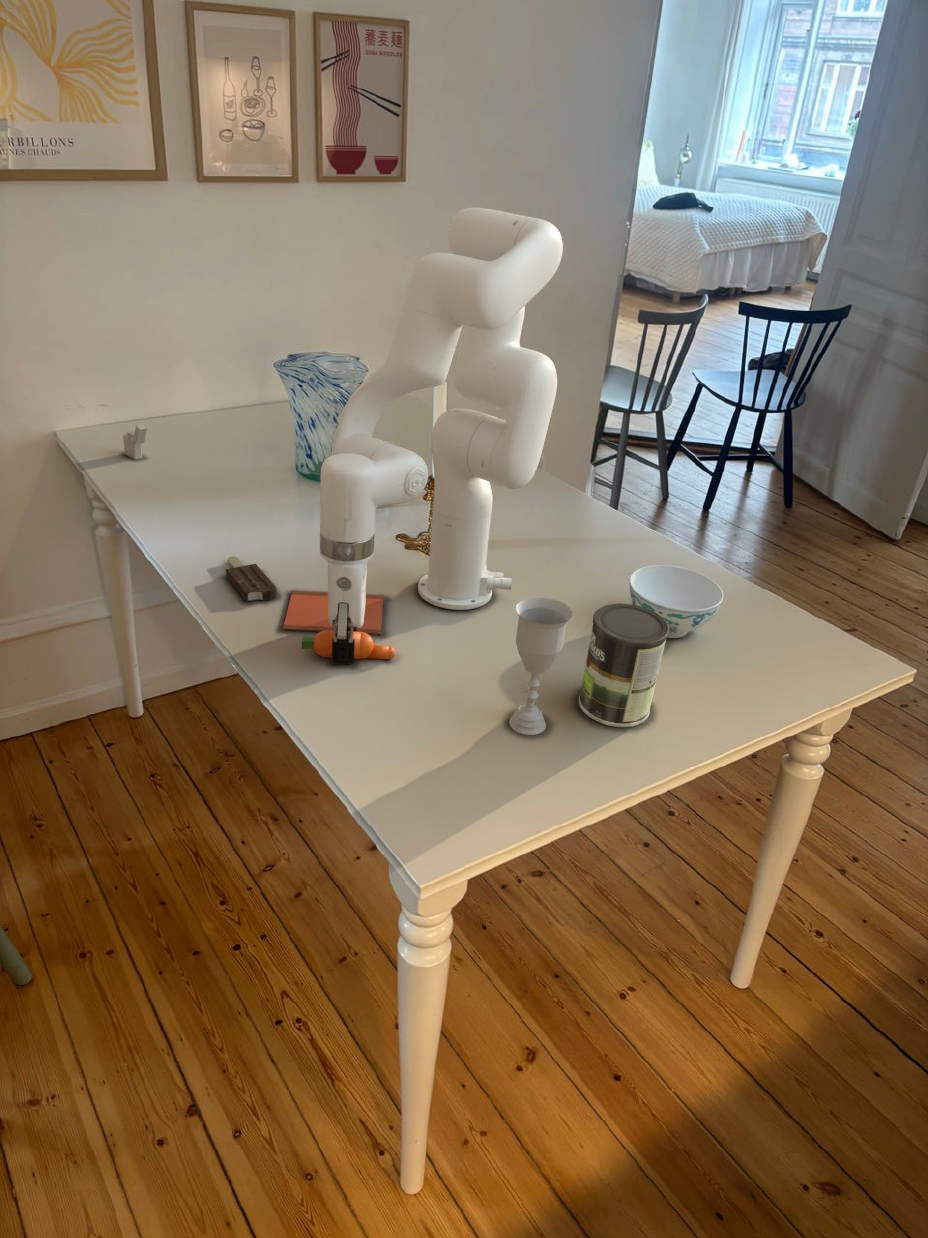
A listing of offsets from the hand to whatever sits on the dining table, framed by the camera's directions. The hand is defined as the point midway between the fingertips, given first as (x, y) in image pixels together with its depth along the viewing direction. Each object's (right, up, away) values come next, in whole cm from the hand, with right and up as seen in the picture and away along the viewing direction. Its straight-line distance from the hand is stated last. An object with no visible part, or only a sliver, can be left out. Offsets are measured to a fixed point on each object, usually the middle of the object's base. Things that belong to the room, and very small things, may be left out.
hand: (344, 653), depth 138 cm
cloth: (-3, +6, +11) cm, 12 cm away
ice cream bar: (-18, +11, +17) cm, 28 cm away
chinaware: (+51, +4, +16) cm, 54 cm away
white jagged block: (-51, +39, +59) cm, 87 cm away
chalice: (+27, -9, -10) cm, 30 cm away
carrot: (0, 0, 0) cm, 0 cm away
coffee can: (+39, -8, -5) cm, 40 cm away
